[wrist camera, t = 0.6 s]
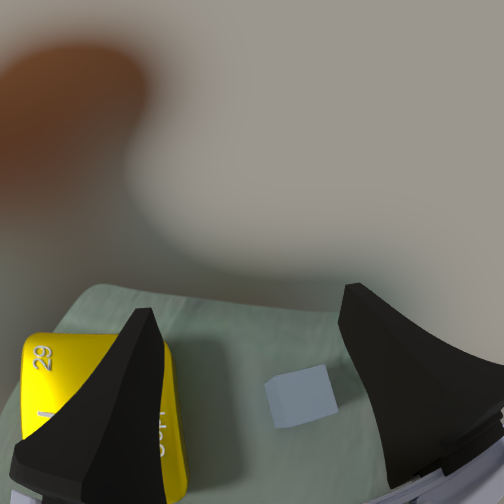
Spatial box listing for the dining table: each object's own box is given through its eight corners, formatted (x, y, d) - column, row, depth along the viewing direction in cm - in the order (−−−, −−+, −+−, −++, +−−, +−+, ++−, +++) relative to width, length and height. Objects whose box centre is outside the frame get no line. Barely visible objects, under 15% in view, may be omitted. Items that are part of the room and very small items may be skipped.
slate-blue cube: (319, 415, 24) (338, 412, 20) (275, 427, 23) (288, 427, 19) (307, 374, 26) (324, 363, 23) (264, 384, 25) (274, 376, 22)
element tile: (194, 493, 18) (191, 506, 14) (48, 479, 15) (24, 484, 11) (174, 345, 26) (169, 329, 23) (42, 344, 23) (20, 328, 19)
